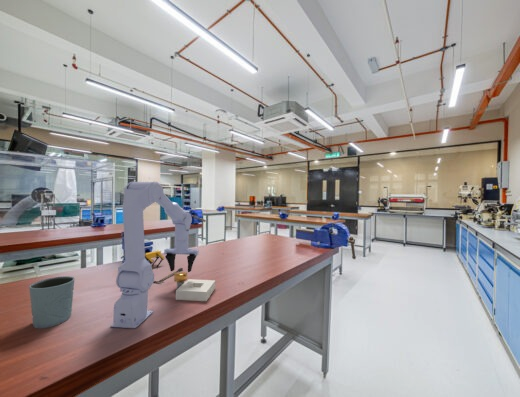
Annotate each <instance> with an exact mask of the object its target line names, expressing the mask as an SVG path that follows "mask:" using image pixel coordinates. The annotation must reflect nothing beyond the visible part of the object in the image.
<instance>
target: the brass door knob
mask: <svg viewBox="0 0 520 397" xmlns="http://www.w3.org/2000/svg"><path fill="white" fill-rule="evenodd" d="M173 277H174V278H173V280H174V282H176V290H177V289H178V288H179V287H180V286H181V285H182V284H184V283H185V282H186V281H187V280H188V272H187V271H180V272H178V273H175V274H174V275H173Z"/></svg>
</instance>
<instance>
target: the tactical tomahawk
mask: <svg viewBox="0 0 520 397" xmlns="http://www.w3.org/2000/svg"><path fill="white" fill-rule="evenodd" d="M183 269H184V268H183V267H180V268H178V269H177V271H173V273H170V274H168V275H167V276H164V277H163V278H161V279H159V281H156V280H154V282H153V284H157V285H162V284H163V283H165V282H164V281H165V280H167V279H170V278H171V277H174V274H175V273H178V272H182V271H183Z"/></svg>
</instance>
